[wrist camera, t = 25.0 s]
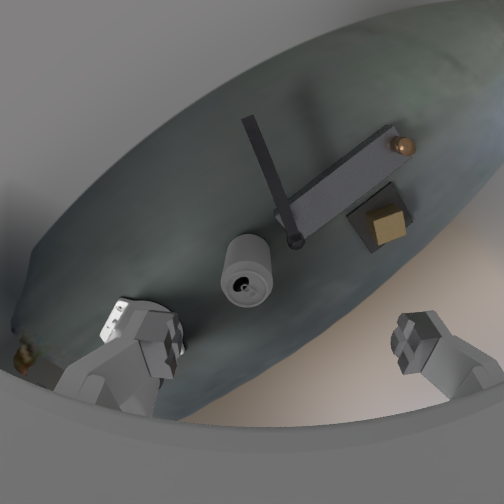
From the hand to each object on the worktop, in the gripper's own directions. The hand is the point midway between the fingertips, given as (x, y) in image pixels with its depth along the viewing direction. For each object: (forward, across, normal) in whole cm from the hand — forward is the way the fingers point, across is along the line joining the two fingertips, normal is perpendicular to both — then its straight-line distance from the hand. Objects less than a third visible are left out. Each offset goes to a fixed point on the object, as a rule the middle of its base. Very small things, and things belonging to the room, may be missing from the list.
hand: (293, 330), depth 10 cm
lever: (+30, -1, +2) cm, 30 cm away
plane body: (+37, -12, +2) cm, 39 cm away
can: (+37, +2, +16) cm, 40 cm away
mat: (+37, -21, +8) cm, 43 cm away
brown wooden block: (+36, -21, +8) cm, 43 cm away
